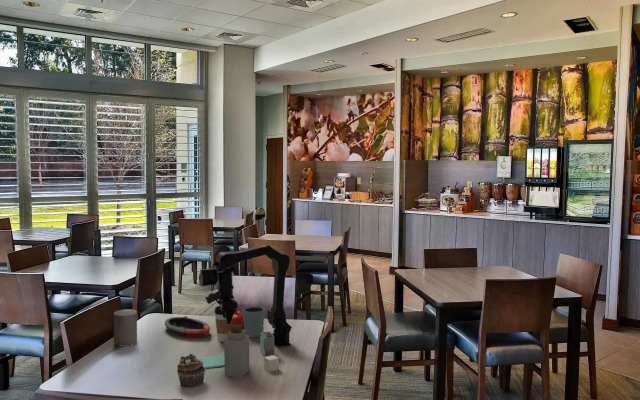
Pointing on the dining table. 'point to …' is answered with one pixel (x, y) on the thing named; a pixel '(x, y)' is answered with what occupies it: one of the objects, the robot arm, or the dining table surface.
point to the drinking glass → (253, 321)
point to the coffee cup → (221, 325)
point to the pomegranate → (238, 318)
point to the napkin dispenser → (267, 344)
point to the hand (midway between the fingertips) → (226, 320)
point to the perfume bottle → (236, 352)
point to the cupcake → (190, 371)
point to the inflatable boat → (187, 327)
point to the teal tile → (213, 361)
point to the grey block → (271, 363)
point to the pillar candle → (125, 327)
